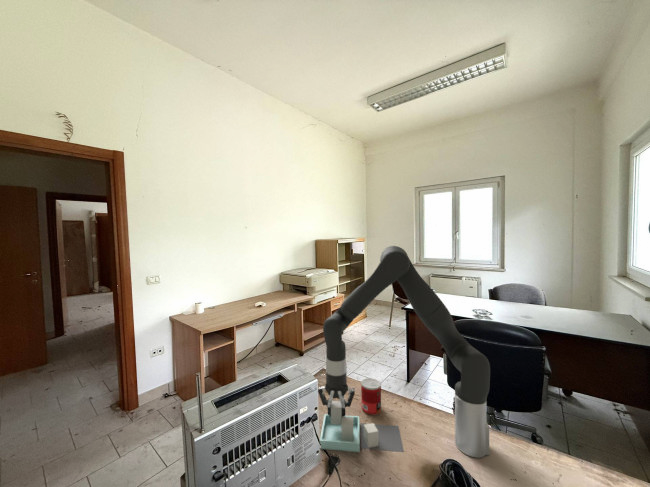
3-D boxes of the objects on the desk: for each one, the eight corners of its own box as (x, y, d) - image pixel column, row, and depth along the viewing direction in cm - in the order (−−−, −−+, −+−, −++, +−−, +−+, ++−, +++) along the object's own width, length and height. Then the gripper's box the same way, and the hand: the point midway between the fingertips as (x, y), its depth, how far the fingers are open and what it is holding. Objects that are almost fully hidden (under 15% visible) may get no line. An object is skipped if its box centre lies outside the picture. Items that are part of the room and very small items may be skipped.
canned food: (381, 416, 103) (381, 389, 103) (360, 414, 105) (360, 387, 104) (381, 404, 111) (380, 378, 110) (362, 402, 112) (361, 377, 112)
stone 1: (342, 417, 98) (342, 401, 98) (341, 424, 94) (341, 407, 94) (332, 416, 98) (332, 400, 98) (331, 424, 94) (330, 407, 94)
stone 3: (373, 436, 92) (373, 423, 92) (378, 445, 88) (378, 431, 88) (363, 438, 91) (363, 424, 91) (368, 447, 88) (368, 433, 87)
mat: (398, 426, 97) (398, 425, 97) (404, 453, 86) (404, 451, 86) (360, 424, 99) (360, 423, 99) (360, 449, 87) (360, 448, 87)
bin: (359, 424, 99) (359, 416, 99) (359, 453, 86) (359, 443, 86) (324, 422, 101) (324, 414, 100) (319, 449, 87) (319, 440, 87)
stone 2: (353, 433, 94) (353, 417, 93) (353, 442, 90) (353, 425, 89) (342, 432, 94) (342, 416, 94) (341, 441, 90) (341, 424, 90)
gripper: (315, 373, 92) (315, 421, 93) (355, 376, 91) (356, 424, 91) (318, 363, 100) (318, 408, 100) (355, 365, 98) (356, 410, 98)
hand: (336, 415), depth 96 cm, fingers closed on stone 1, 3 cm apart
